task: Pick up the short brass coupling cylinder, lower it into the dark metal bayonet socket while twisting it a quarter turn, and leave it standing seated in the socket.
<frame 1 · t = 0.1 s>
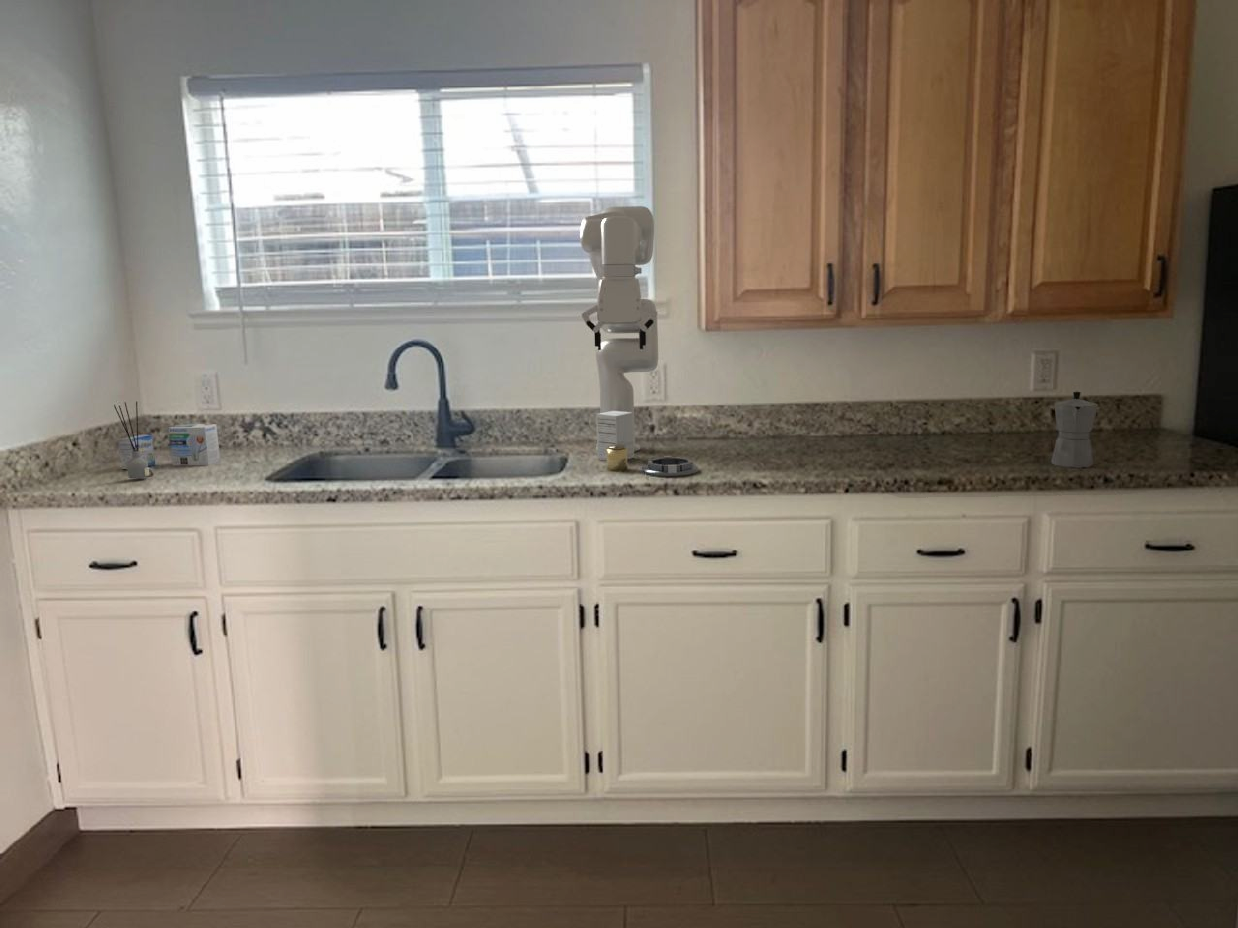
hand: (620, 349, 203), 31 cm above the worktop, tool pointing down, fingers open, 9 cm apart
light bulb box: (196, 464, 247), on the worktop
lock base: (670, 471, 219), on the worktop
reed diffuser: (137, 479, 226), on the worktop
coffeepot: (1071, 464, 218), on the worktop
medicine box: (139, 468, 242), on the worktop
supplement box: (615, 459, 239), on the worktop
brass coupling: (617, 469, 224), on the worktop
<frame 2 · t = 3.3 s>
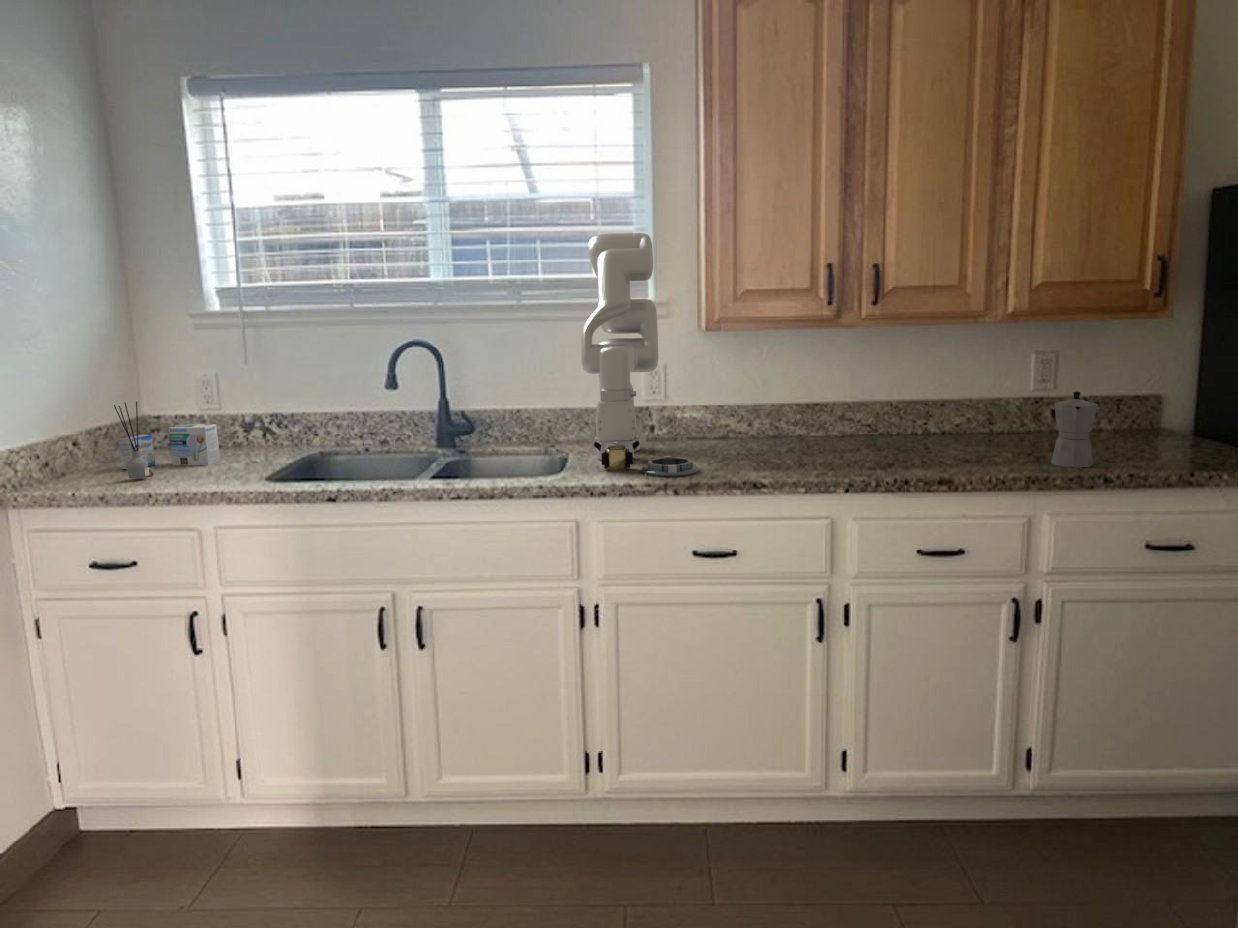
hand: (617, 466, 224), 1 cm above the worktop, tool pointing down, fingers closed on brass coupling, 5 cm apart
brass coupling: (617, 469, 224), on the worktop, touching gripper
everything else where it was.
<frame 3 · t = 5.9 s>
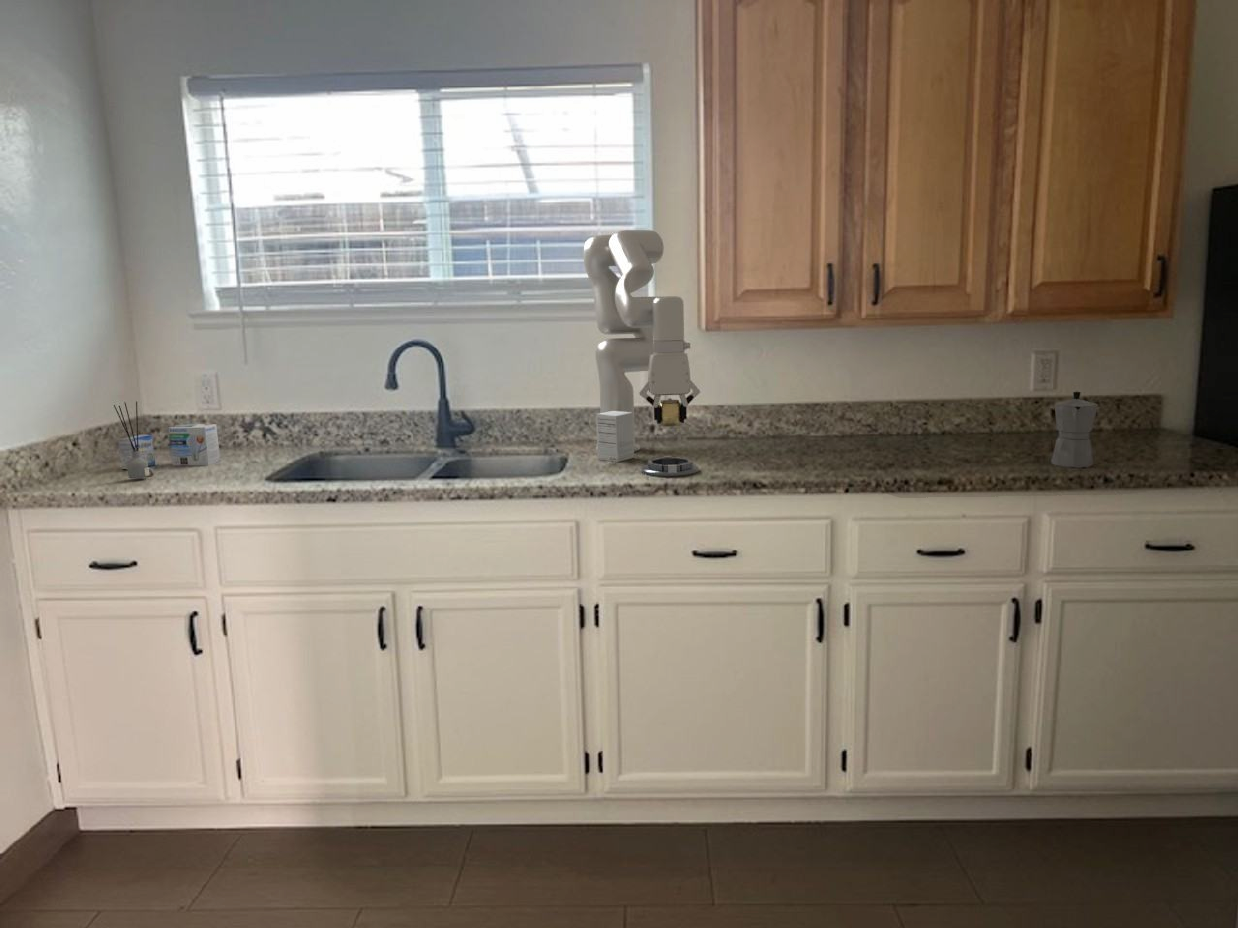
hand: (670, 422, 216), 13 cm above the worktop, tool pointing down, fingers closed on brass coupling, 5 cm apart
brass coupling: (670, 424, 216), point 12 cm above the worktop, touching gripper
everything else where it was.
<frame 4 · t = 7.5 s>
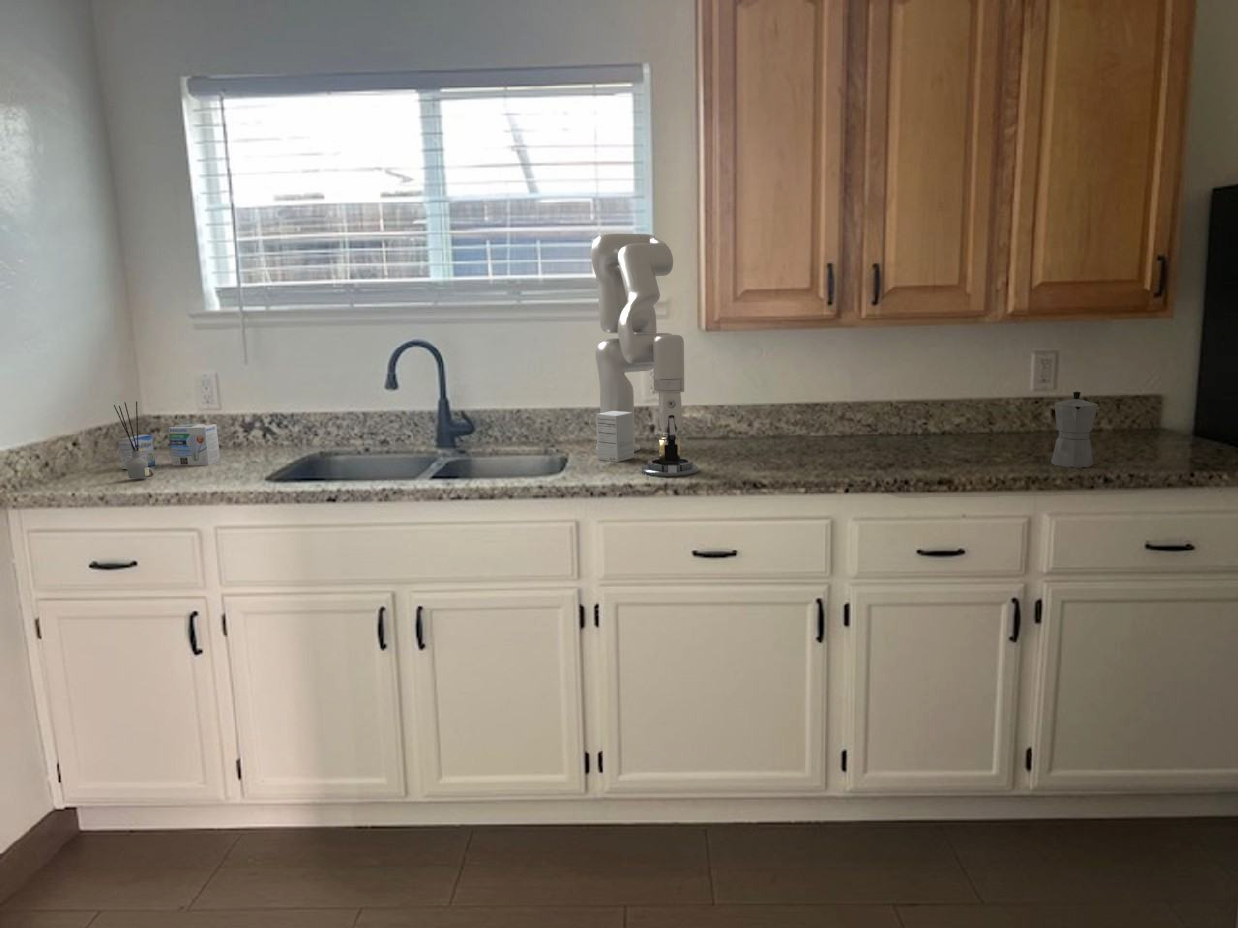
hand: (669, 458, 219), 3 cm above the worktop, tool pointing down, fingers closed on brass coupling, 5 cm apart
brass coupling: (669, 461, 219), point 3 cm above the worktop, touching gripper
everything else where it was.
when the fingers open (3 cm above the worktop, at t = 8.7 s): brass coupling drops 1 cm, resting on lock base.
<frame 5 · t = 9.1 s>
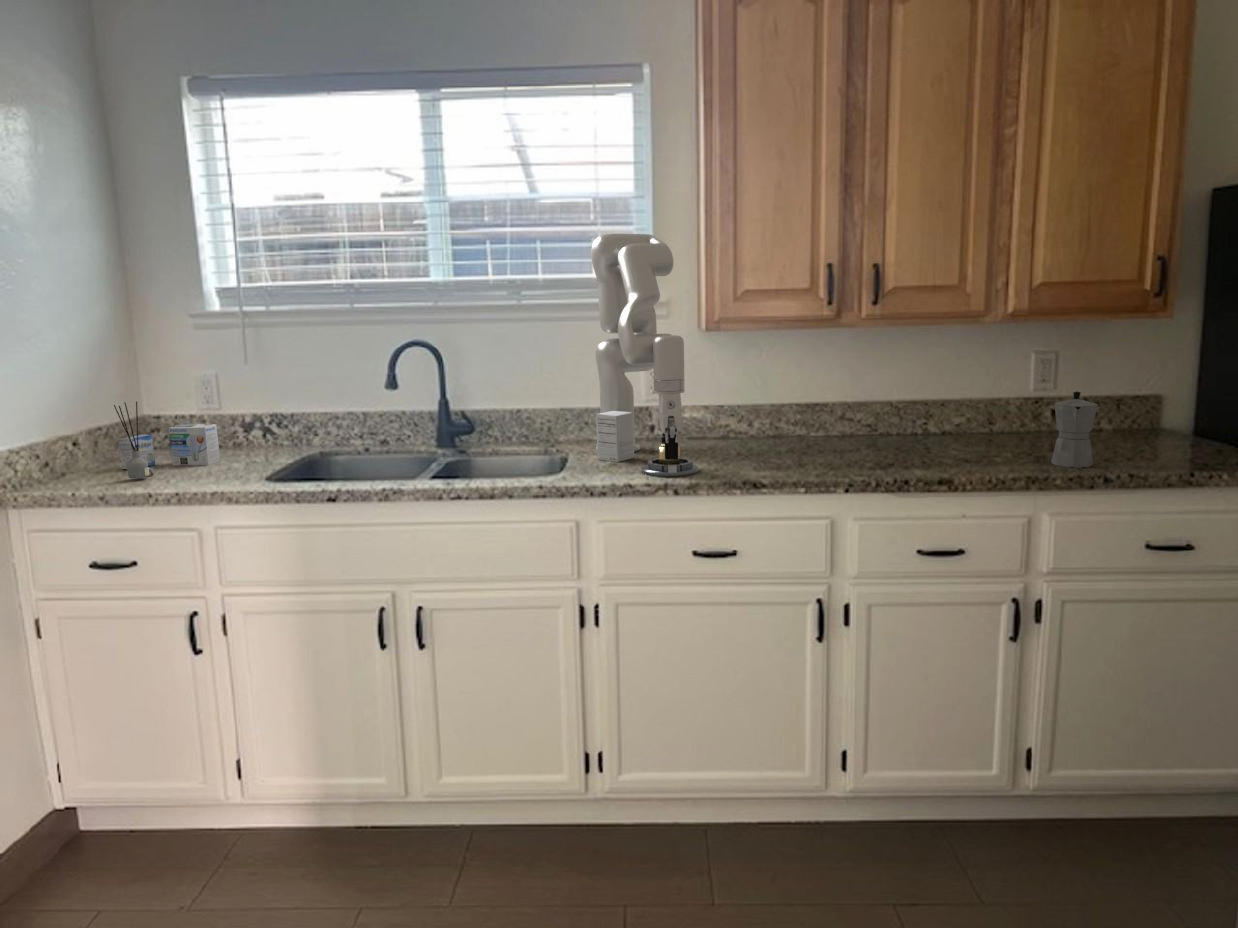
hand: (669, 455, 219), 4 cm above the worktop, tool pointing down, fingers open, 9 cm apart
brass coupling: (669, 467, 219), point 1 cm above the worktop, touching lock base
everything else where it was.
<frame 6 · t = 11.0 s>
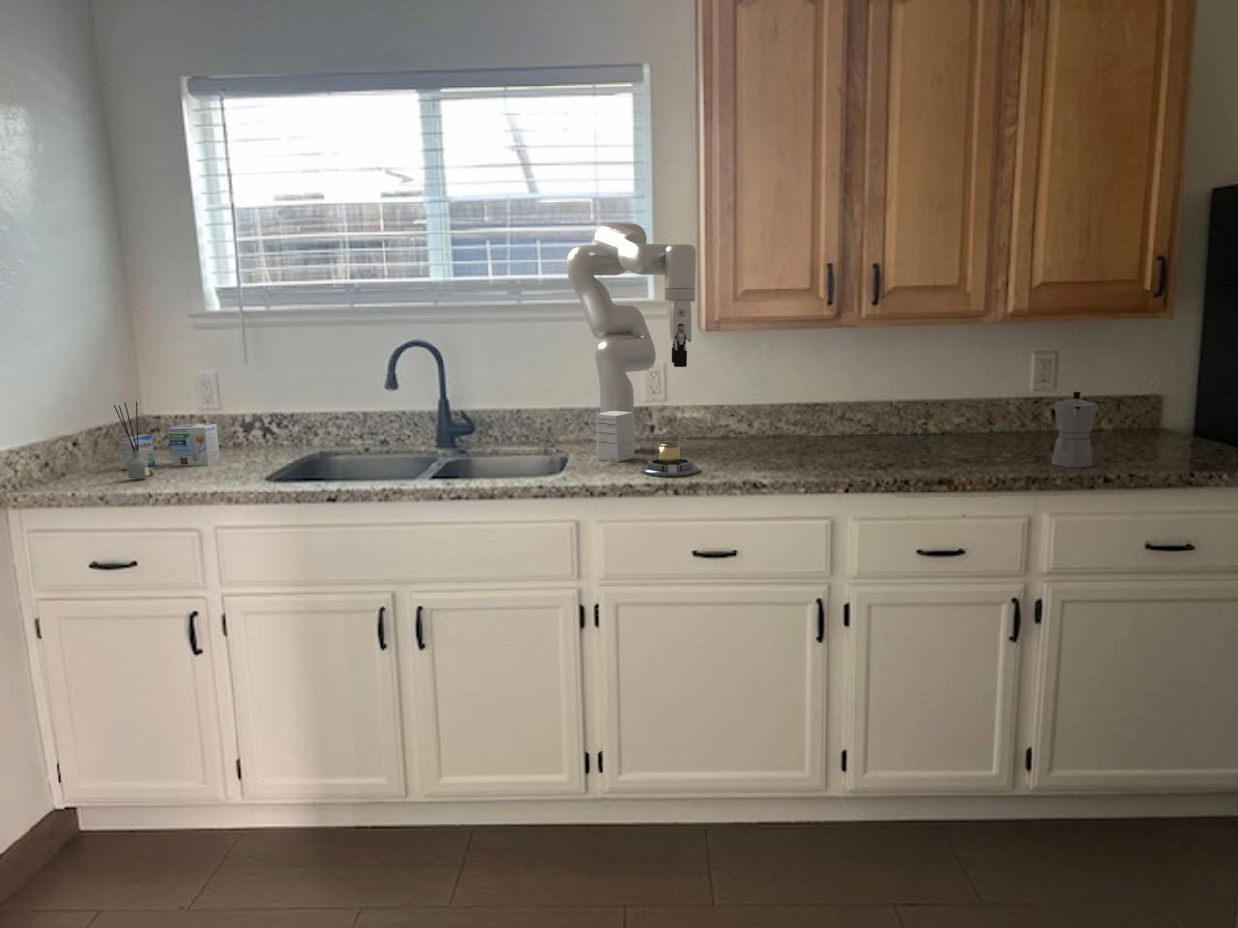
hand: (679, 364, 222), 26 cm above the worktop, tool pointing down, fingers open, 9 cm apart
nothing on the worktop moved.
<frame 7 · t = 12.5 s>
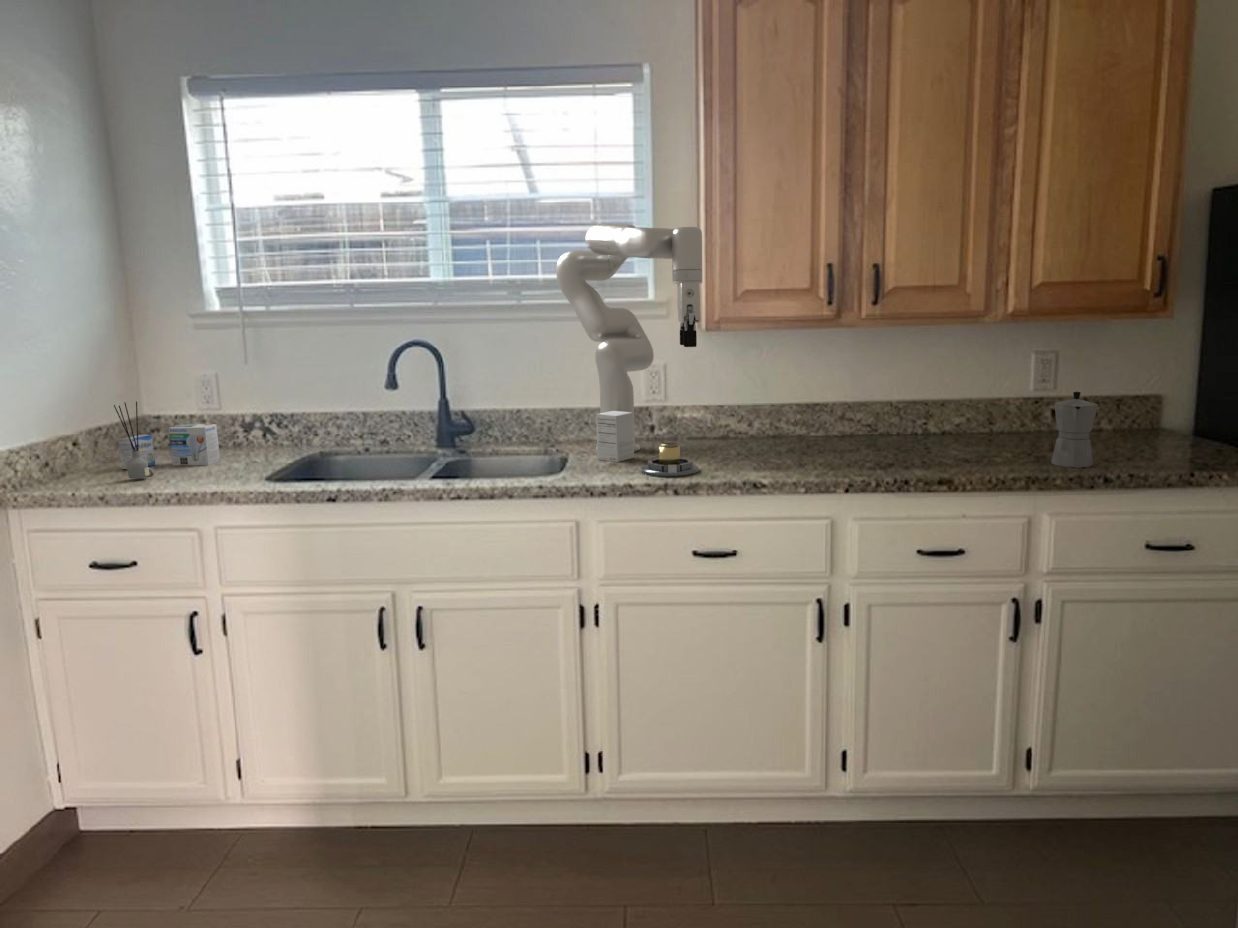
hand: (688, 346, 226), 30 cm above the worktop, tool pointing down, fingers open, 9 cm apart
nothing on the worktop moved.
at the end: brass coupling 0.2 cm from the lock base (horizontally); brass coupling tilted 0°; brass coupling point 1.0 cm above the worktop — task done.
